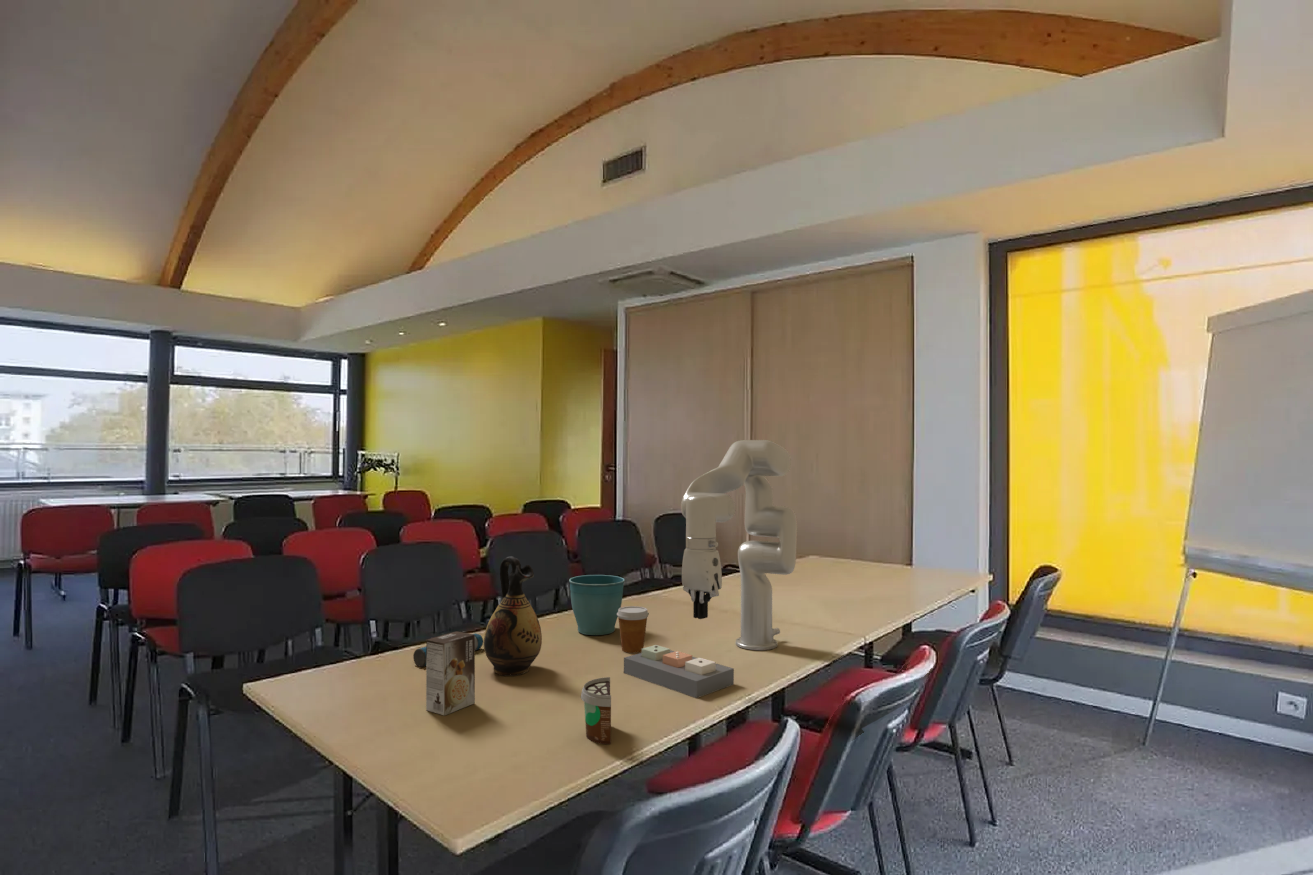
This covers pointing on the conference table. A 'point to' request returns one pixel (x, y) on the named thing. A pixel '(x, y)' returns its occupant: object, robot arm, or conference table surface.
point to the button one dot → (700, 666)
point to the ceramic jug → (513, 624)
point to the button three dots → (676, 659)
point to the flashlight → (421, 652)
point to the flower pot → (596, 602)
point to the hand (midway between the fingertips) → (700, 617)
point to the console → (678, 676)
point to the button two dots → (655, 652)
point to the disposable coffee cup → (632, 628)
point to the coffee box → (450, 672)
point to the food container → (597, 710)
